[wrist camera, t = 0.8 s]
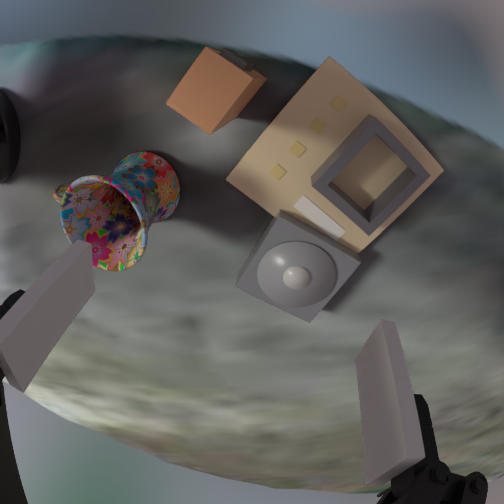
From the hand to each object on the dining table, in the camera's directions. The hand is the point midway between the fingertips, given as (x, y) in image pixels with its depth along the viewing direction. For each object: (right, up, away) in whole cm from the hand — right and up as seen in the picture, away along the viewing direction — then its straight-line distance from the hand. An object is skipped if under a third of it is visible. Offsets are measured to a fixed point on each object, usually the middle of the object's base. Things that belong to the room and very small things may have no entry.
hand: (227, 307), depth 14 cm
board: (+10, +11, +17) cm, 23 cm away
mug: (-12, +10, +21) cm, 27 cm away
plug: (-1, +18, +15) cm, 23 cm away
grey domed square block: (+6, +1, +23) cm, 24 cm away
